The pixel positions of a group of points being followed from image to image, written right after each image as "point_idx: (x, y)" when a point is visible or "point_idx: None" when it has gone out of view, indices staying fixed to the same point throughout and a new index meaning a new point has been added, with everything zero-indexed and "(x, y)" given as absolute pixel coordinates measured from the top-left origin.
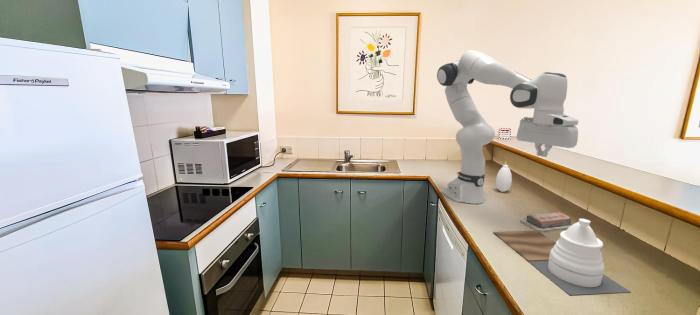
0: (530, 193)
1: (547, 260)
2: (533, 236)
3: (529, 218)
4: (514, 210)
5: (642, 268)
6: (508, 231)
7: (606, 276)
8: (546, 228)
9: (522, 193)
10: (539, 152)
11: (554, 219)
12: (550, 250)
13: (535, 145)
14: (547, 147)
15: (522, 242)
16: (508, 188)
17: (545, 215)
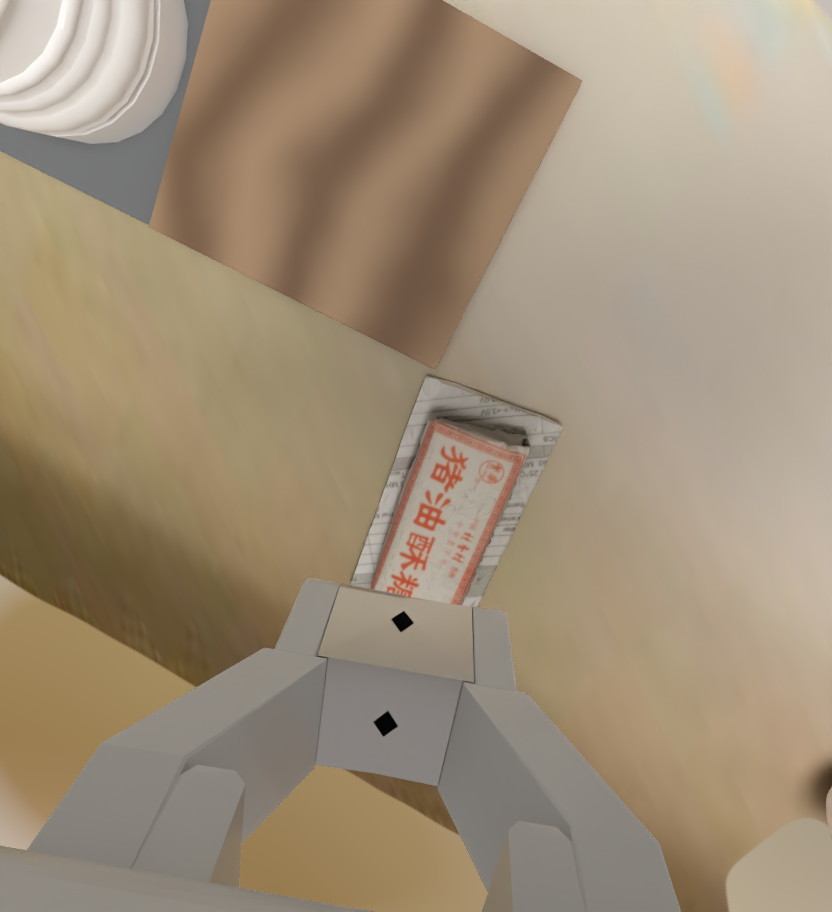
0: (707, 855)
1: (206, 26)
2: (401, 265)
3: (511, 438)
4: (659, 557)
5: (18, 396)
6: (523, 189)
7: (11, 153)
8: (415, 439)
9: (741, 828)
10: (432, 647)
11: (406, 519)
12: (259, 165)
13: (629, 858)
14: (114, 765)
15: (391, 109)
16: (828, 808)
17: (457, 524)
